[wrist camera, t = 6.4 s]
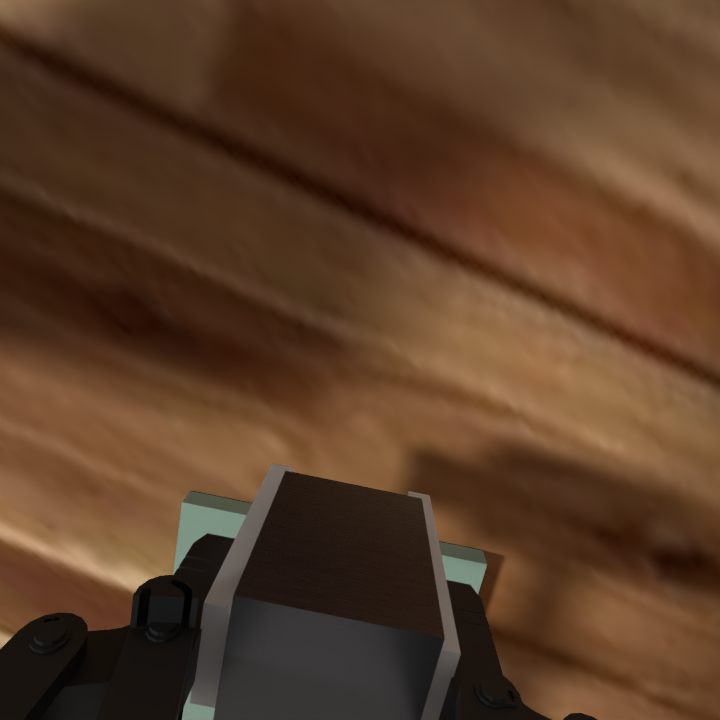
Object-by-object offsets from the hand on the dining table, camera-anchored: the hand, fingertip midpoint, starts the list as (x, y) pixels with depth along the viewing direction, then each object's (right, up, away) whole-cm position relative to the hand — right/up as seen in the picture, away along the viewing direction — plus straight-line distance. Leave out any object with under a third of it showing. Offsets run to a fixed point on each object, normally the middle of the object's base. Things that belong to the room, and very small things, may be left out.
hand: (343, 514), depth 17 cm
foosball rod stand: (-2, -7, +6) cm, 9 cm away
